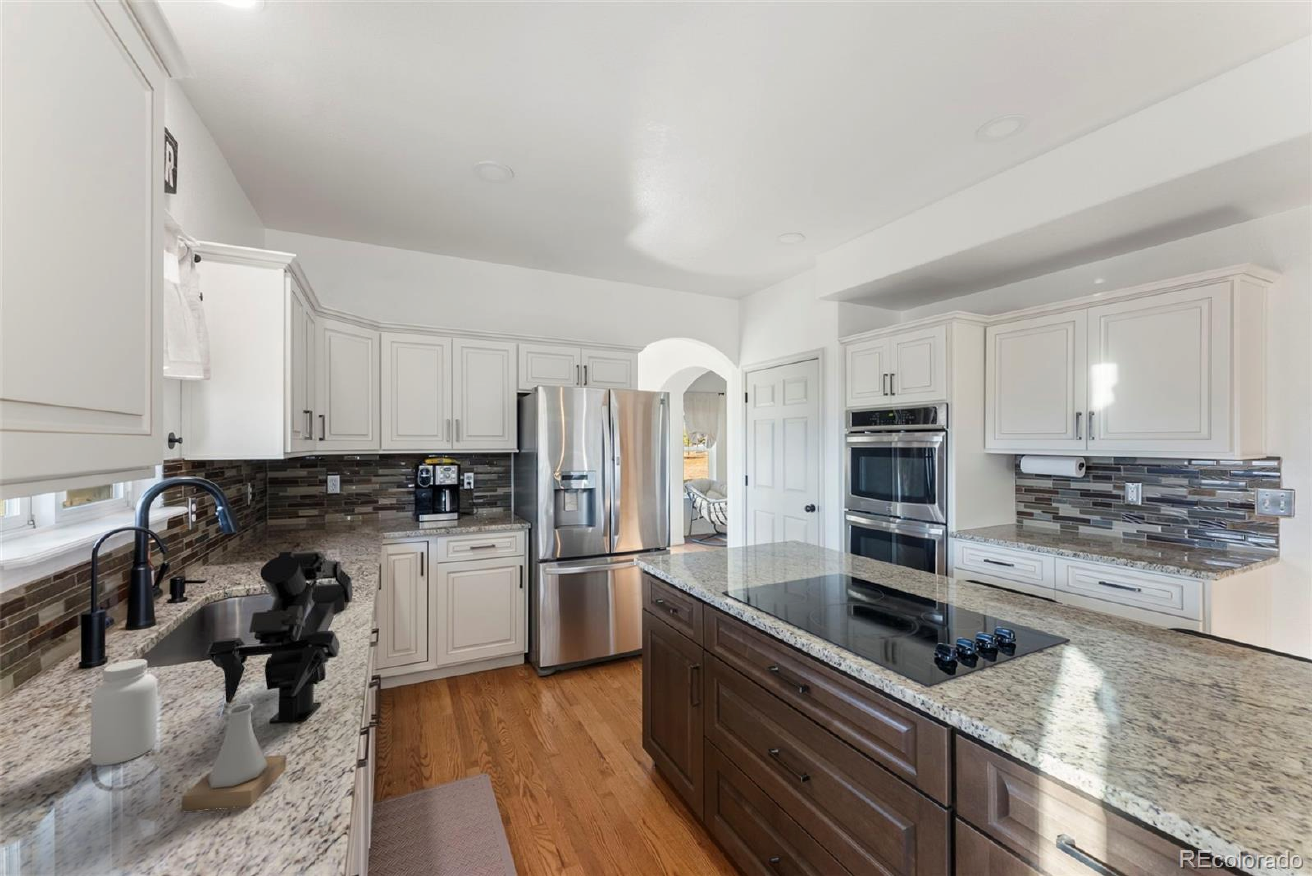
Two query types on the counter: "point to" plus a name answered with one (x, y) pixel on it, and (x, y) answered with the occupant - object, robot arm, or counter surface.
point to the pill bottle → (123, 713)
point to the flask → (238, 751)
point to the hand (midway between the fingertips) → (260, 698)
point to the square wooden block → (233, 789)
